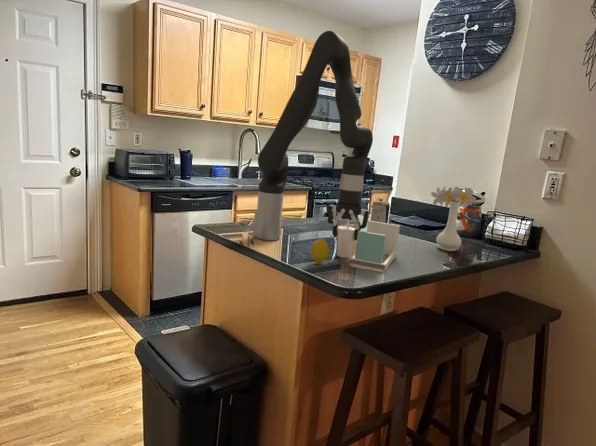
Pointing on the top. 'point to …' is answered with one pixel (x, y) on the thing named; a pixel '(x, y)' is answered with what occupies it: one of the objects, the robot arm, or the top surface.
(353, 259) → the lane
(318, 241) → the lemon
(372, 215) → the coffee box
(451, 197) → the flower vase
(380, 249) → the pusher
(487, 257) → the top surface
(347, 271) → the top surface
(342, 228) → the smoothie
